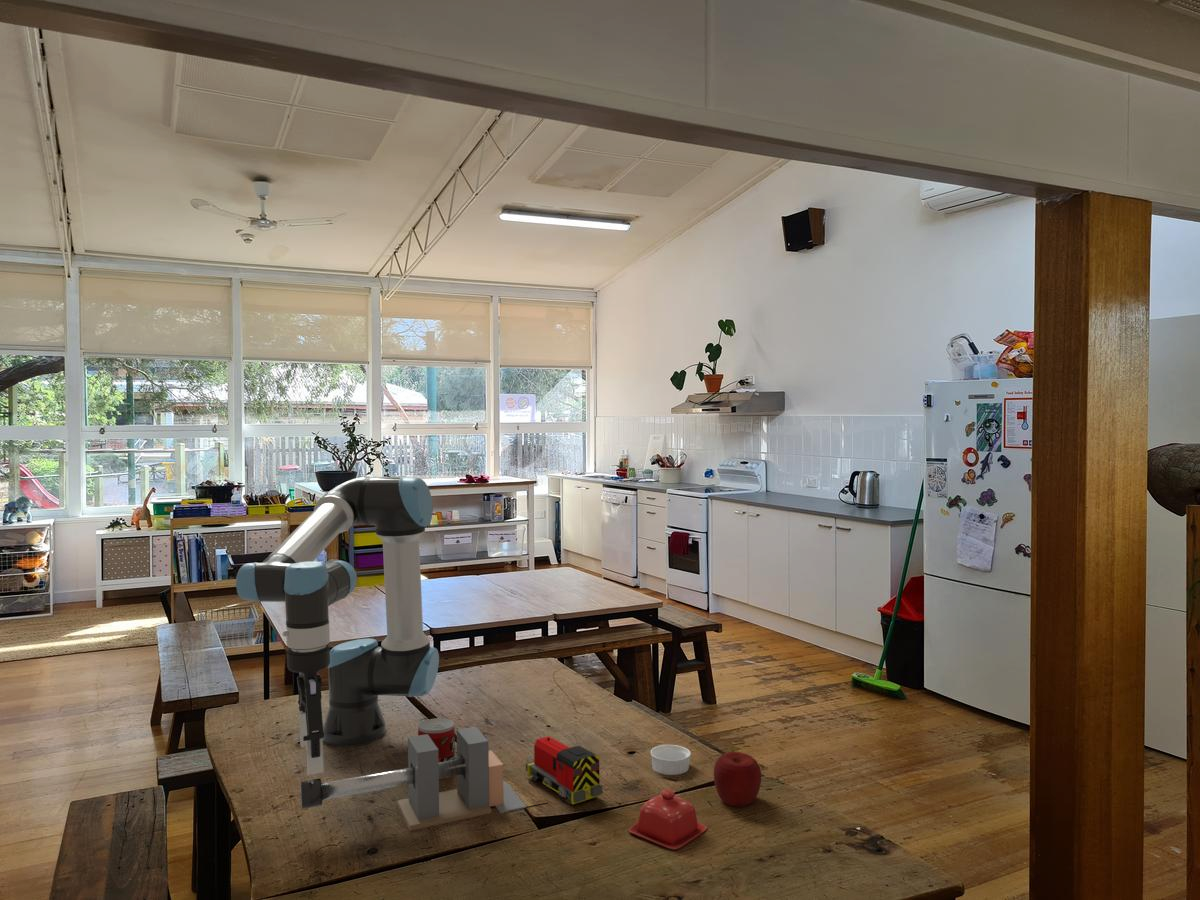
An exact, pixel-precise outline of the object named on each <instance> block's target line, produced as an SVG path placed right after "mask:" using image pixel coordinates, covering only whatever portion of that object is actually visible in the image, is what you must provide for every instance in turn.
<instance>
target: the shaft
mask: <svg viewBox="0 0 1200 900" xmlns="http://www.w3.org/2000/svg"><path fill="white" fill-rule="evenodd" d="M462 774H466V764H465V759H464V758H462V759H457V758H455V760H451V761H445V762H439V780H441V778H443V779H446V777H447V778H450V777H457V775H462ZM413 783H415V768H414V767H411V768H408V767H405V768H400V769H394V770H389V771H383V772H379V773H378V772H377V773H372V774H371V773H370V774H365V775H361V776H359V775H358V776H355V777H349V778H343V779H338V780H337V779H336V780H332V781H327V782H325V781H324V782H322V779H321V778H315V779H314V778H313V779H308V780H303V781H300V783H299V796H300V807H301V810H304V809H311V808H315V807H321V806H323V801H325V800H332V799H336V798H337V799H338V798H340V797H345V796H346V797H347V796H352V795H357V794H358V795H359V794H364V793H370V792H374V791H380V790H386V789H391V788H397V787H402V786H407V785H408V784H413Z"/></svg>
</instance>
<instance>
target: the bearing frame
mask: <svg viewBox="0 0 1200 900" xmlns="http://www.w3.org/2000/svg"><path fill="white" fill-rule="evenodd" d="M489 751H490V750H489V740H488V739H487V737H485V735H484V734H483V733H482V732H481V730H480V729H479V728H478V727H476V726H470V727H464V728H458V729H456V759H462V758H464V759H465V764H466V774H462V775H457V776H456V778H457V779H456V780H457V781H456V785H457V787H456V788H454V789H449V790H444V791H440V786H439V784H440V783H439V782H440V779H439V762H438V748H437V747H436V745H435V744H434V743H433V741H432V740H431V738H430V737H429V735H428V734H425V735H419V736H418V735H414V736H408V737H407V768H411V767H414V768H415V783H413V784H408V787H407V788H408V792H407V793H408V798H407V797H406V798H403V799H402V798H401V799H397V801H396V806H397V808H398V809H399V812H400V814H401V816H402V818H403V821H404V822H405V824H406V826H407V828H408V830H409V832H410V831H415V830H419V829H423V828H428V827H434V826H438V825H443V824H448V823H452V822H456V821H457V822H458V821H461V820H466V819H470V818H475V817H479V816H486V815H488V814H492V808H491V807H489Z"/></svg>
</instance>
